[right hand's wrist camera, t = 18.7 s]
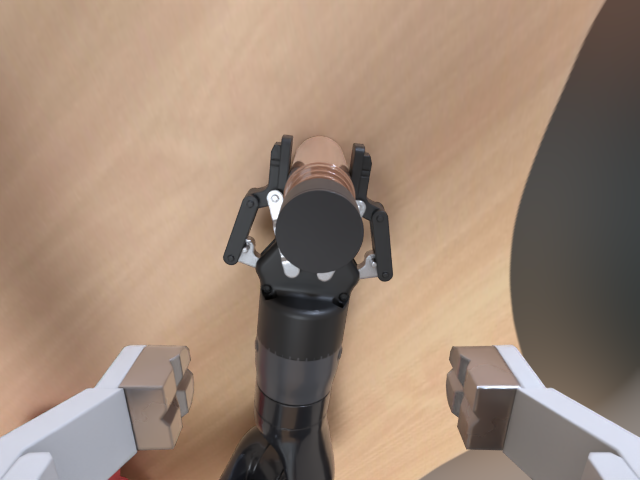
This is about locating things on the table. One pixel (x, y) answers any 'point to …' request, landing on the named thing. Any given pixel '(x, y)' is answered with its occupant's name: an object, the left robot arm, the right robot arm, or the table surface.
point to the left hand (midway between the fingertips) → (323, 141)
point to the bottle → (319, 163)
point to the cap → (319, 226)
